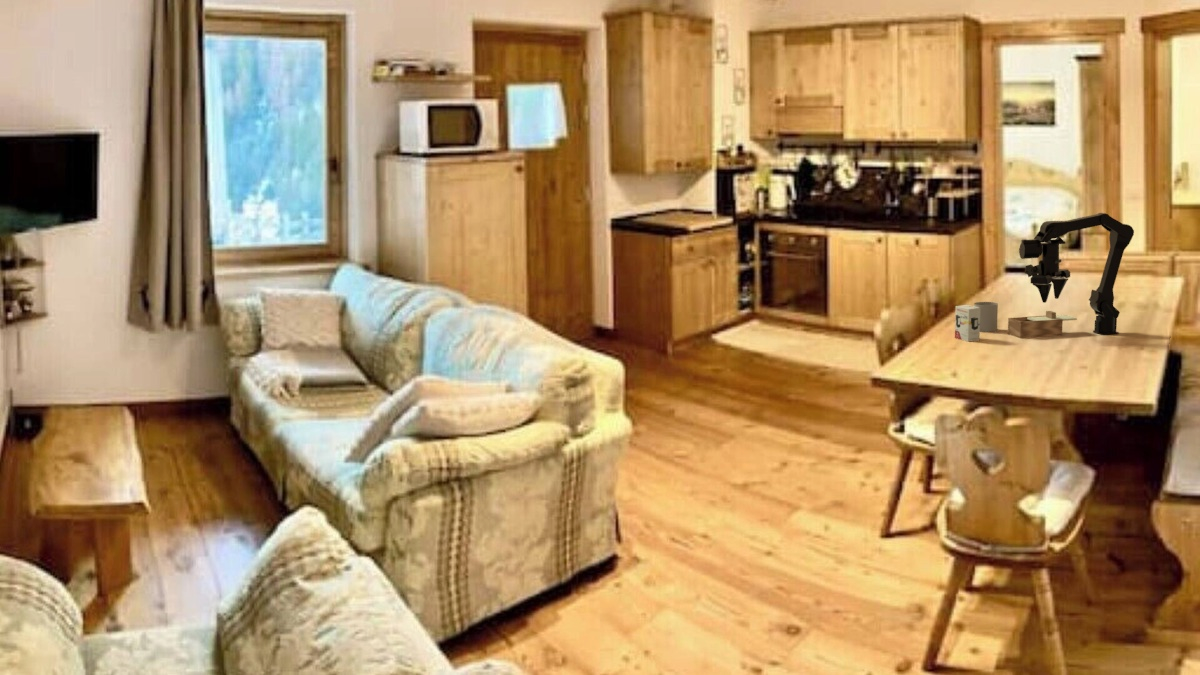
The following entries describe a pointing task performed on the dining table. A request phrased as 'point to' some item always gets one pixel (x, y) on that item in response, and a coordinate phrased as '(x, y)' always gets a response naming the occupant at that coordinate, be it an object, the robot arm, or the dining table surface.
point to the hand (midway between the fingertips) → (1050, 300)
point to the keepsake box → (1034, 327)
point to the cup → (988, 316)
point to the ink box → (967, 323)
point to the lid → (1051, 317)
